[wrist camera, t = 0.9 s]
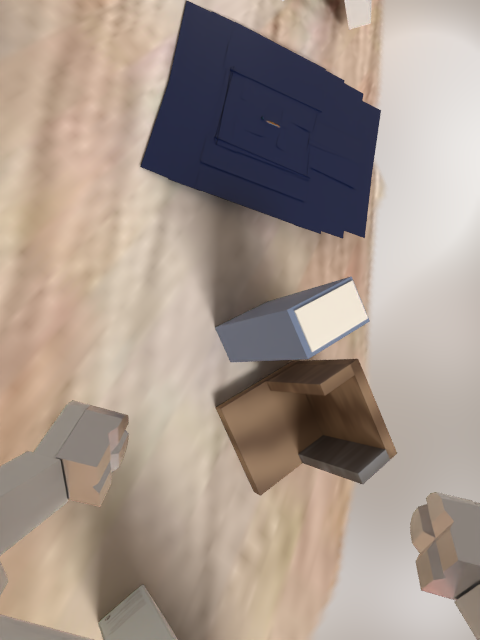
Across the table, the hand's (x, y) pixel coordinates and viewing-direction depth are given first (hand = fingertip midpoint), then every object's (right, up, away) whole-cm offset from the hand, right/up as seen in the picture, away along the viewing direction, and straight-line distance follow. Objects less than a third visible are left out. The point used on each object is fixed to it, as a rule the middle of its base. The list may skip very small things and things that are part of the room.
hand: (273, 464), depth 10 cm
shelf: (+3, -9, +37) cm, 38 cm away
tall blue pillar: (0, +2, +37) cm, 37 cm away
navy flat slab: (+3, +28, +42) cm, 51 cm away
